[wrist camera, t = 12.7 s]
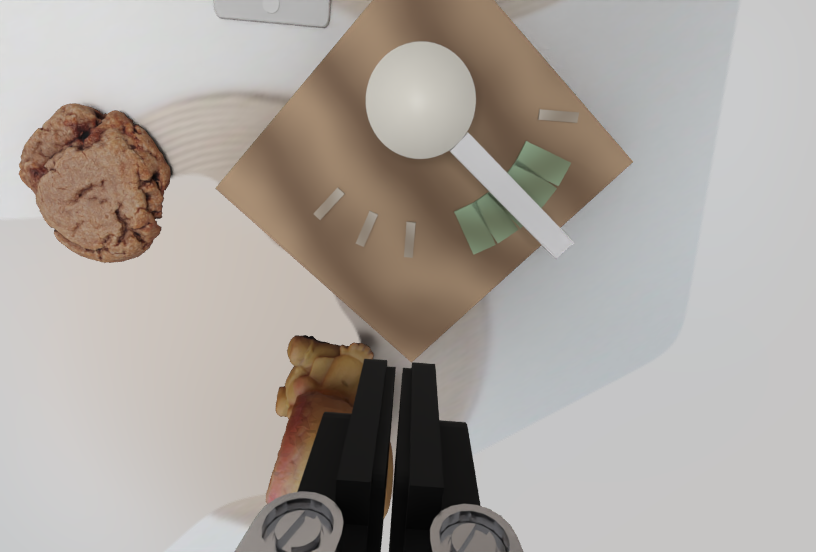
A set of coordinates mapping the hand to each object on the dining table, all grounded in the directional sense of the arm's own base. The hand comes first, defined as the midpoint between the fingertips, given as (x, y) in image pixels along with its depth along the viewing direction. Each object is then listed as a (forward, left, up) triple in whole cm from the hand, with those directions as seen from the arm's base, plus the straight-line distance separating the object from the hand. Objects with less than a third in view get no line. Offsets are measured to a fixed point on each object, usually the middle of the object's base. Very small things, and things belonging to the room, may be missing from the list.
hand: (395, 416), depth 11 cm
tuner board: (-3, -2, -23) cm, 23 cm away
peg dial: (-6, 0, -21) cm, 21 cm away
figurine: (+13, +5, -23) cm, 27 cm away
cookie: (+13, -17, -24) cm, 32 cm away
